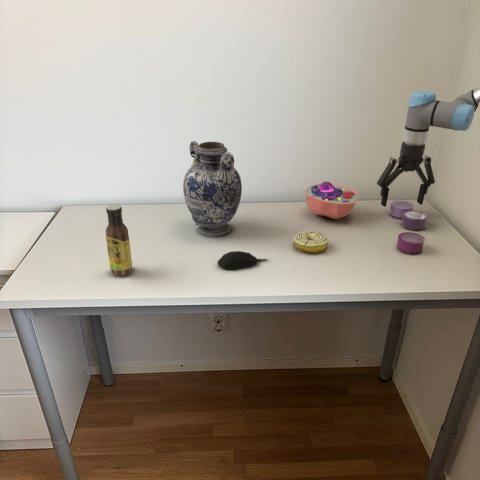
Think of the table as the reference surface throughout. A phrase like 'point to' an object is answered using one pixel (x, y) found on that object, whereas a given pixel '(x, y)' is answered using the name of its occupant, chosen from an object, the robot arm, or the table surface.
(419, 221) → the dish middle
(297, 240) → the decorated donut
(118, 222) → the sauce bottle
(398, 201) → the dish
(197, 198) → the decorative vase
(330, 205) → the cell model
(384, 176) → the robot arm
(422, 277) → the table surface
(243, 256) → the gaming mouse
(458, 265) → the table surface
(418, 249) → the dish
